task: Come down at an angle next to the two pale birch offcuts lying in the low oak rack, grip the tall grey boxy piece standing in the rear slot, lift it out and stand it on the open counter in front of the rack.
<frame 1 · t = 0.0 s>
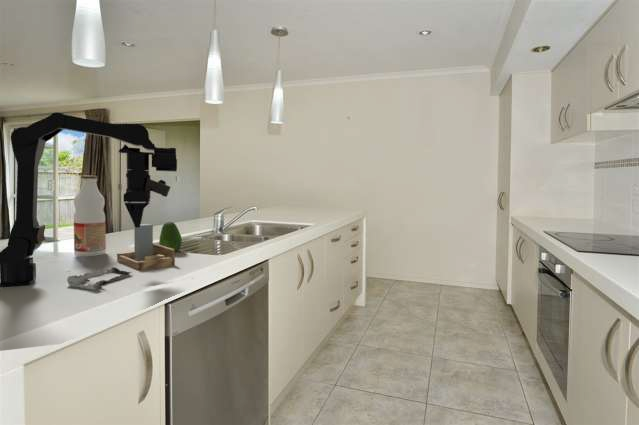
hand: (138, 225, 109), 15 cm above the worktop, tool pointing down, fingers open, 9 cm apart
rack: (145, 266, 122), on the worktop
fruit juice: (90, 256, 133), on the worktop
grey boxy piece: (143, 261, 124), point 1 cm above the worktop, touching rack
avocado: (170, 254, 141), on the worktop
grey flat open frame: (103, 284, 102), on the worktop
offcut b: (154, 260, 119), point 2 cm above the worktop, touching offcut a
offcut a: (154, 265, 119), point 1 cm above the worktop, touching offcut b, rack
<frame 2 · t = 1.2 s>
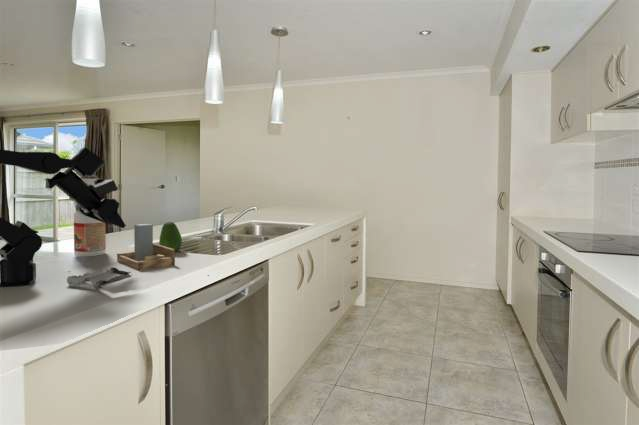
hand: (118, 225, 117), 13 cm above the worktop, tool tilted 45°, fingers open, 9 cm apart
nothing on the worktop moved.
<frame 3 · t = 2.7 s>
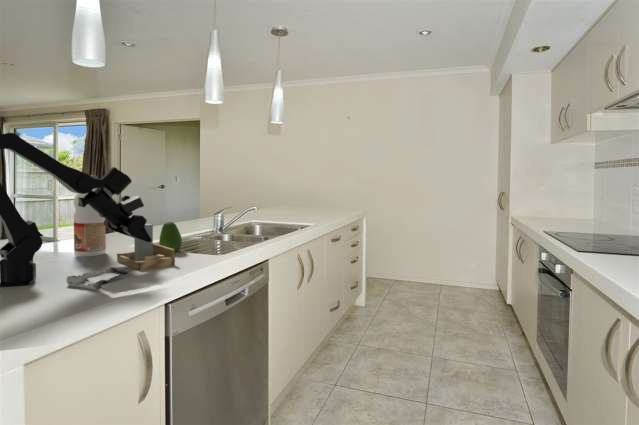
hand: (143, 239, 123), 8 cm above the worktop, tool tilted 45°, fingers open, 9 cm apart
nothing on the worktop moved.
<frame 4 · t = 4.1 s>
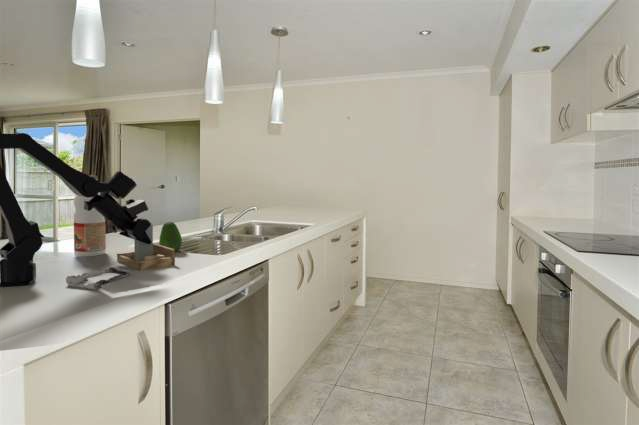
hand: (147, 242, 124), 7 cm above the worktop, tool tilted 45°, fingers closed on grey boxy piece, 3 cm apart
grey boxy piece: (143, 261, 124), point 1 cm above the worktop, touching gripper, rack
everything else where it was.
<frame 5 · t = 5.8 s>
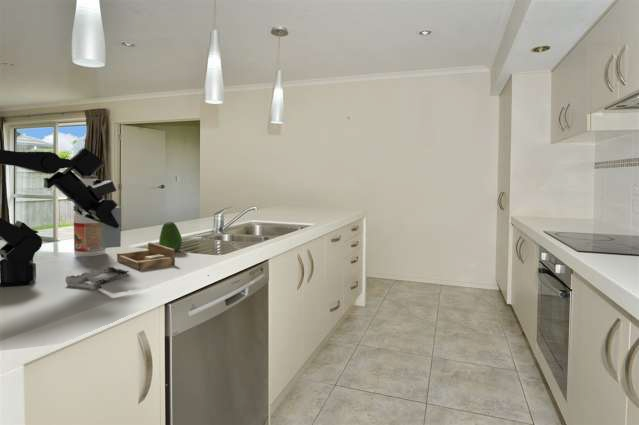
hand: (115, 226, 116), 13 cm above the worktop, tool tilted 45°, fingers closed on grey boxy piece, 3 cm apart
grey boxy piece: (110, 246, 116), point 7 cm above the worktop, touching gripper
everything else where it was.
when the fingers open (7 cm above the worktop, at t = 7.5 s): grey boxy piece stays where it is, on the worktop.
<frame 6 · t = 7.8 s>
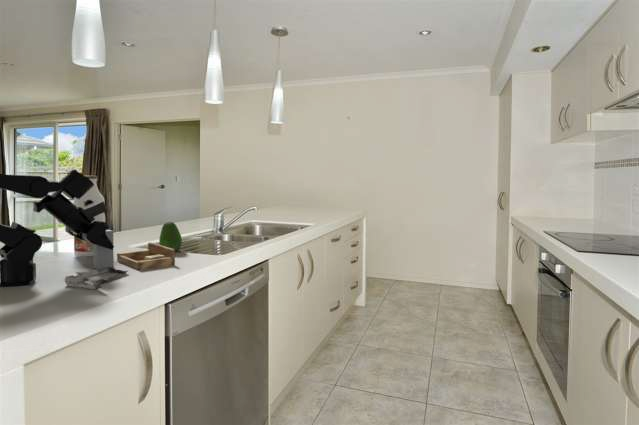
hand: (108, 246, 115), 7 cm above the worktop, tool tilted 45°, fingers open, 6 cm apart
grey boxy piece: (103, 270, 115), on the worktop
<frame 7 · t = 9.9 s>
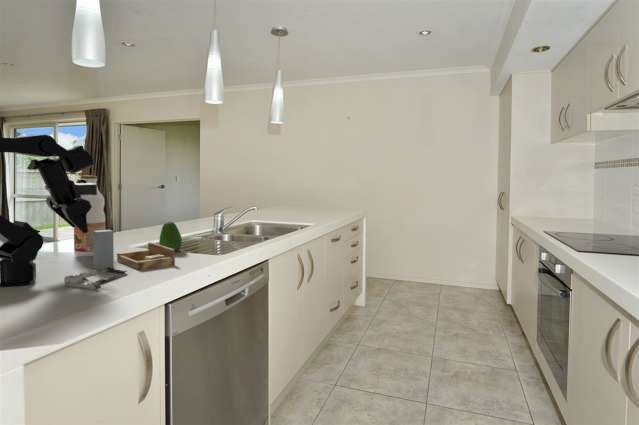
hand: (80, 229, 112), 12 cm above the worktop, tool tilted 25°, fingers open, 9 cm apart
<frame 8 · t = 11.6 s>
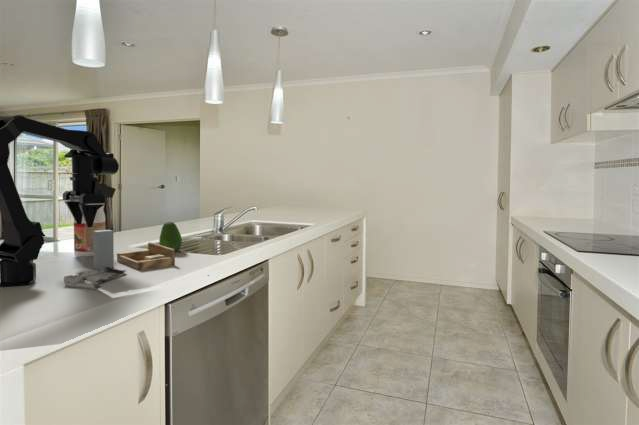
hand: (84, 225, 116), 13 cm above the worktop, tool pointing down, fingers open, 9 cm apart
at the end: grey boxy piece inside the target area (0.4 cm from its centre), on the worktop; grey boxy piece tilted 0°; the gripper is holding nothing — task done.
